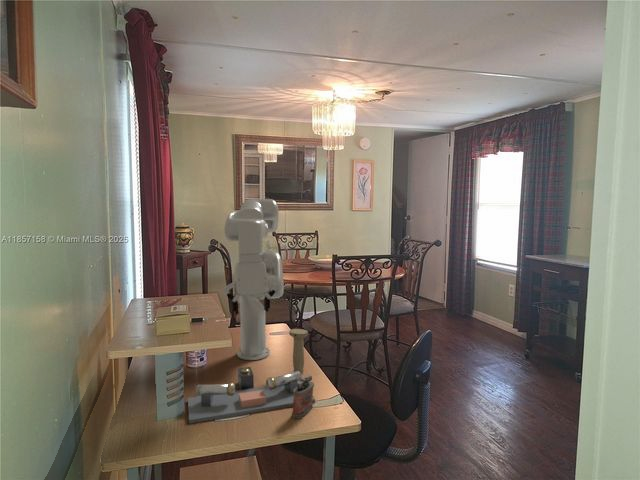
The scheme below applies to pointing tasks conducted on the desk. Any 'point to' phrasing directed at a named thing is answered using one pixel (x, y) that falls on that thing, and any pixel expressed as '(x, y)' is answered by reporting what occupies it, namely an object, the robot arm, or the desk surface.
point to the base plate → (234, 405)
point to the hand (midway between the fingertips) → (251, 312)
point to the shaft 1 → (213, 392)
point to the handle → (298, 348)
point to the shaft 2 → (284, 381)
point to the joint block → (245, 378)
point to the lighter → (303, 397)
